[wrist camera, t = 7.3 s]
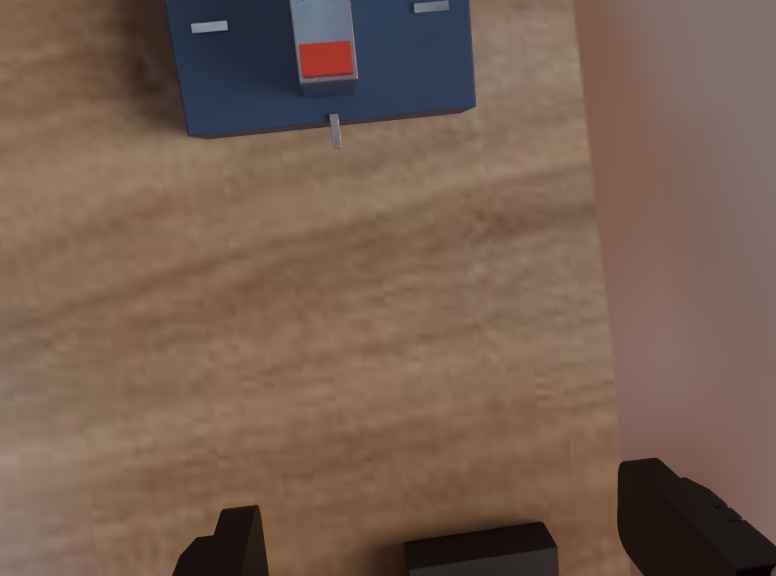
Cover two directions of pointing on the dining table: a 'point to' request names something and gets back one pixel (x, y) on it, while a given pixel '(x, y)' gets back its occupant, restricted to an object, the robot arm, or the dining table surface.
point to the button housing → (486, 553)
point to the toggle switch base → (280, 74)
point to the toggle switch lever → (324, 47)
